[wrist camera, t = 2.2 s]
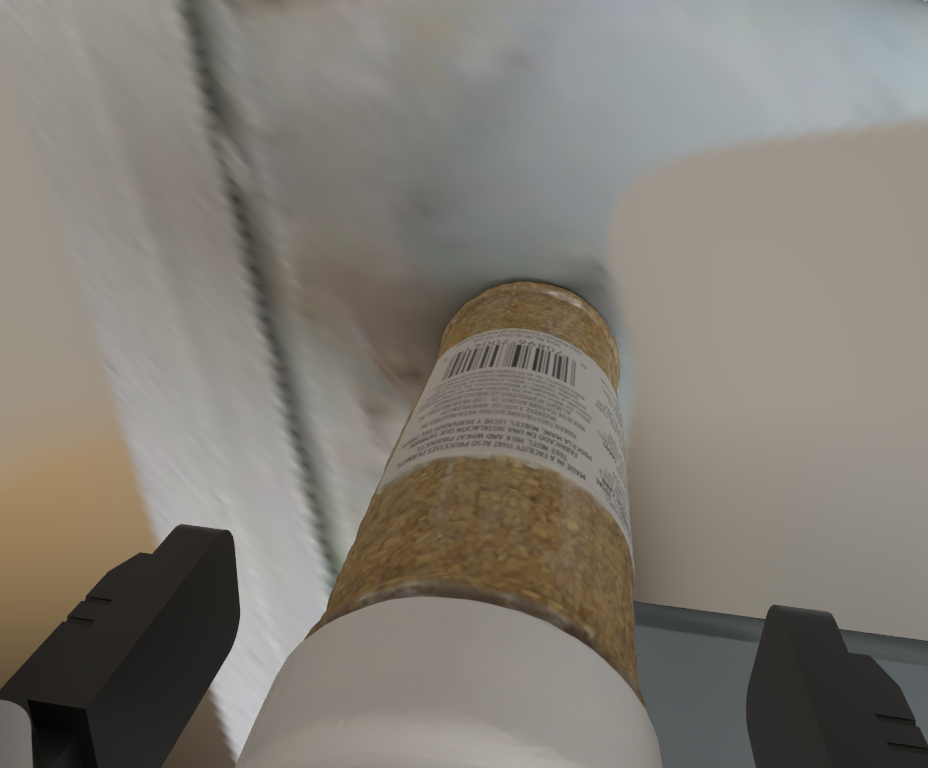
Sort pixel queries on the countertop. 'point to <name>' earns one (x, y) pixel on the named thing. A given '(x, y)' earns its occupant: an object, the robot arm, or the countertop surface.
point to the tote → (733, 680)
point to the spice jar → (484, 569)
